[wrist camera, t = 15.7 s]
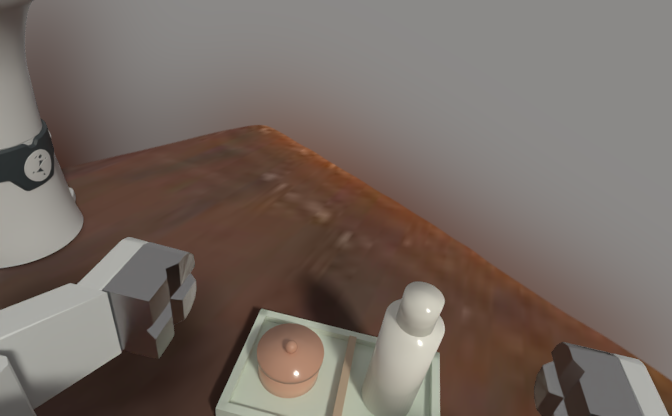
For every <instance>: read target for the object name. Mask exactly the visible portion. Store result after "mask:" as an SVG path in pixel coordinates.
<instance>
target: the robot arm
mask: <svg viewBox="0 0 672 416" xmlns="http://www.w3.org/2000/svg"><path fill="white" fill-rule="evenodd" d="M32 1H33V0H0V268H5V267H12V266H17V265H22V264H25V263H29V262H32V261H35V260H38V259H41V258H43V257H46V256H48V255H50V254H52V253H54V252H56V251H58V250H59V249H61V248H63V247H64V246H66V245H67V244H68V243H69V242H71V241H72V240H73V239H74V238H75V237H76V236H77V234H78V233H79V232H80V230H81V228H82V225H83V216H82V213H81V212H80V210H79V208H78V207H77V205H76V203H75V200H76V195H75V193H74V191H73V189H72V188H69V187H68V185H67V182H66V180H65V178H64V175H63V173H62V170H61V168H60V166H59V163H58V161H57V159H56V156H55V154H54V148H53V144H52V141H51V134H50V132H49V130H48V128H47V125H46V123H45V122H44V121H43V120H42V119H41V118H40V115H39V111H38V107H37V104H36V100H35V96H34V92H33V88H32V84H31V80H30V77H29V72H28V68H27V63H26V55H25V29H26V20H27V13H28V10H29V7H30V5H31V3H32ZM194 266H195V263H194V255H193V254H191V253H189V252H185V251H181V250H178V249H174V248H170V247H166V246H163V245H159V244H155V243H151V242H146V241H142V240H139V239H135V238H131V237H128V238H125V239H123V240H121V241H120V242H119V243H118V244H117V245H116V246H115V247H114V248H113V249H112V250H111V251H110V252H109V253H108V254H107V255H106V256H105V257H104V258H103V259H102V260H101V261H100V262H99V263H98V264H97V265H96V266H95V267H94V268H93V269H92V270H91V271H90V272H89V273H88V274H87V275H86V276H85V277H84V278H83V279H82V280H81V281H80V282H79V283H78V284H77V285H76V284H72V283H69V284H67V285H64V286H61V287H59V288H56V289H54V290H51V291H49V292H46V293H43V294H41V295H38V296H36V297H33V298H30V299H28V300H25V301H23V302H20V303H18V304H15V305H12V306H10V307H7V308H5V309H2V310H0V416H36V414H35V412H34V409H35V408H37V407H38V406H40V405H41V404H43V403H44V402H46V401H48V400H49V399H51V398H52V397H54V396H55V395H57V394H58V393H60V392H62V391H63V390H65V389H66V388H68V387H69V386H71V385H72V384H74V383H76V382H77V381H79V380H80V379H82V378H83V377H85V376H87V375H88V374H90V373H91V372H93V371H94V370H96V369H97V368H99V367H101V366H102V365H104V364H105V363H107V362H108V361H110V360H111V359H113V358H115V357H116V356H118V355H119V354H121V353H122V351H126V352H130V353H134V354H138V355H143V356H147V357H151V358H155V359H159V358H160V357H161V355H162V354H163V352H164V350H165V349H166V347H167V346H168V344H169V343H170V341H171V340H172V338H173V337H174V326H173V325H175V324H177V323H179V322H181V321H183V320H184V319H185V318H186V316H187V315H188V313H189V311H190V310H191V307H192V304H193V302H194V299H195V294H196V280H195V278H194V277H193V276H192V275H191V273H190V272H191V271H192V269H193V268H194ZM551 353H552V357H553V362H550V363H548V364H545V365H543V366H542V367H541V369H540V371H539V372H538V374H537V376H536V381H535V386H534V399H535V404H536V409H537V411H538V412H539V413H540V414H541V416H669V415H668V413H667V411H666V409H665V407H664V404H663V402H662V400H661V398H660V396H659V394H658V392H657V390H656V388H655V386H654V384H653V381H652V379H651V377H650V375H649V373H648V371H647V369H646V367H645V365H644V364H643V363H642V362H641V361H640V360H639V359H634V358H630V357H626V356H621V355H617V354H610V353H608V352H604V351H600V350H595V349H591V348H587V347H582V346H578V345H574V344H569V343H565V342H561V343H559V344H558V345H556V347H555V348H554V350H553V351H552V352H551Z"/></svg>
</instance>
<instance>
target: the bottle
mask: <svg viewBox="0 0 672 416" xmlns="http://www.w3.org/2000/svg"><path fill="white" fill-rule="evenodd" d="M444 302H445V301H444V297H443V295H442V293H441V292H440V291H439V290H438V289H437V288H436V287H434V286H433V285H431V284H428V283H425V282H413V283H410V284H409V285H407V287H406V288H405V291H404V294H403V297H402V299H400V300H397V301H395V302H393V303H391V304H390V305H389V307H388V308H387V310H386V313H385V316H384V319H383V323H382V326H381V329H380V332H379V335H378V338H377V342H376V345H375V348H374V351H373V354H372V357H371V360H370V364H369V367H368V370H367V373H366V376H365V379H364V382H363V386H362V391H361V394H362V399H363V402H364V404H365V406H366V408H367V409H368V410H369V411H370V412H371V413H372V414H373V415H375V416H406V415H407V414H408V412H409V411H410V409H411V406H412V404H413V402H414V400H415V398H416V395H417V393H418V391H419V389H420V386H421V384H422V382H423V380H424V378H425V375H426V373H427V371H428V369H429V366H430V364H431V362H432V360H433V358H434V355H435V353H436V351H437V349H438V347H439V344H440V342H441V340H442V338H443V335H444V332H445V327H444V322H443V320H442V318H441V316H440V313H441V311H442V308H443V306H444Z"/></svg>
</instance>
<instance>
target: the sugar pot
mask: <svg viewBox="0 0 672 416" xmlns="http://www.w3.org/2000/svg"><path fill="white" fill-rule="evenodd" d="M323 358H324V347H323V343H322V341H321V339H320V338H319V336H318V335H317V334H316V333H315V332H314V331H312V330H311V329H309V328H308V327H305V326H303V325H300V324H293V323H287V324H281V325H277V326H275V327H273V328H271V329H269V330H268V331H267V332H266V333H265V334H264V335H263V336H262V337H261V339H260V341H259V343H258V346H257V362H258V376H259V380H260V382H261V384H262V385H263V387H264V388H265V389H266V390H267V391H268V392H270V393H271V394H273V395H275V396H277V397H281V398H296V397H299V396H302V395H304V394H305V393H307V392H308V391H310V390H311V389H312V387H313V386H314V385H315V383H316V381H317V378H318V373H319V369H320V368H321V366H322V363H323Z"/></svg>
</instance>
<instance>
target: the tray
mask: <svg viewBox="0 0 672 416" xmlns="http://www.w3.org/2000/svg"><path fill="white" fill-rule="evenodd" d="M287 323H293V324H300V325H303V326H305V327H308V328H309V329H311V330H312V331H314V332H315V333H316V334H317V335H318V336H319V338H320V339H321V341H322V343H323V347H324V358H323V363H322V366H321V368H320V369H319V373H318V378H317V381H316V383H315V385H314V386H313V387H312V389H311V390H310V391H308V392H307V393H305V394H304V395H302V396H299V397H296V398H281V397H277V396H275V395H273V394H271V393H270V392H268V391H267V390H266V389H265V388H264V387H263V385H262V384H261V382H260V380H259V376H258V362H257V346H258V343H259V341H260V339H261V337H262V336H263V335H264V334H265V333H266V332H267V331H268V330H269V329H271V328H273V327H275V326H277V325H281V324H287ZM377 338H378V337H374V336H370V335H365V334H361V333H357V332H353V331H349V330H345V329H341V328H337V327H333V326H329V325H325V324H321V323H317V322H313V321H309V320H305V319H301V318H297V317H293V316H289V315H285V314H281V313H277V312H273V311H269V310H265V309H261V310H260V312H259V314H258V316H257V319H256V321H255V323H254V325H253V327H252V330H251V332H250V334H249V336H248V338H247V340H246V343H245V345H244V347H243V349H242V351H241V354H240V356H239V358H238V360H237V362H236V365H235V367H234V369H233V371H232V373H231V375H230V378H229V380H228V382H227V384H226V386H225V389H224V391H223V393H222V395H221V397H220V399H219V402H218V404H217V406H216V408H215V410H216V416H375V415H373V414H372V413H371V412H370V411H369V410H368V409H367V408H366V406H365V404H364V402H363V399H362V394H361V391H362V386H363V382H364V379H365V376H366V373H367V370H368V367H369V364H370V360H371V357H372V354H373V351H374V348H375V345H376V342H377ZM406 416H440V353H438V352H436V353H435V355H434V358H433V360H432V362H431V364H430V366H429V369H428V371H427V373H426V375H425V378H424V380H423V382H422V384H421V386H420V389H419V391H418V393H417V395H416V398H415V400H414V402H413V404H412V406H411V409H410V411H409V412H408V414H407V415H406Z"/></svg>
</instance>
